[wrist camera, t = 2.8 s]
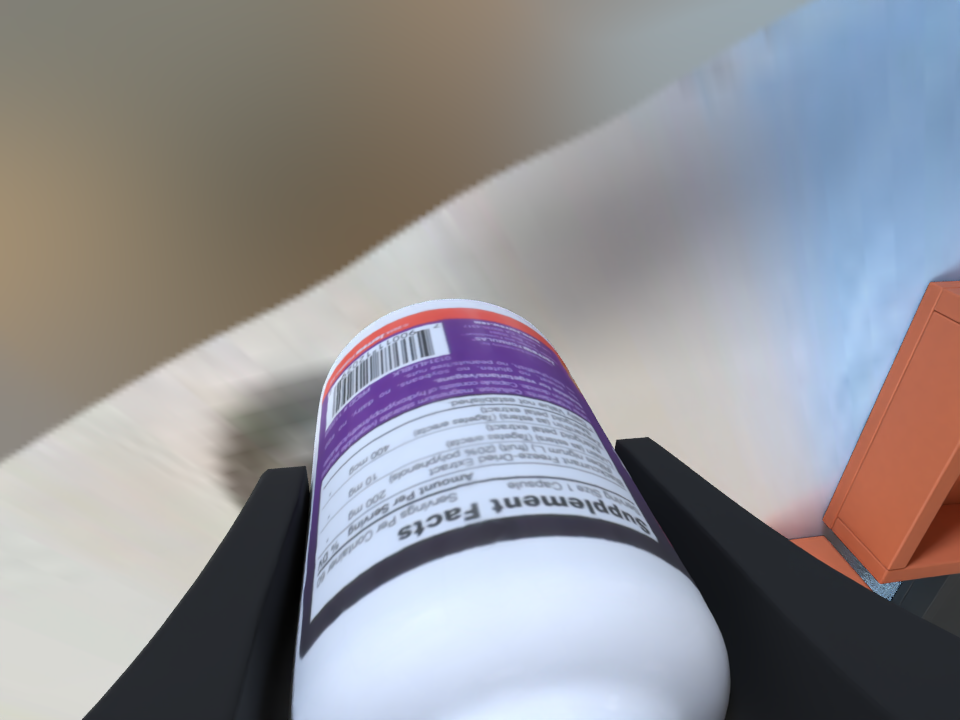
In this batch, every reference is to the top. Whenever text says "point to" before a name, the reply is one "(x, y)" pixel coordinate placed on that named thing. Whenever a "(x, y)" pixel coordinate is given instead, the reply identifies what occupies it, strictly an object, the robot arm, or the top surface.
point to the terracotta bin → (909, 456)
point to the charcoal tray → (933, 600)
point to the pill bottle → (485, 542)
